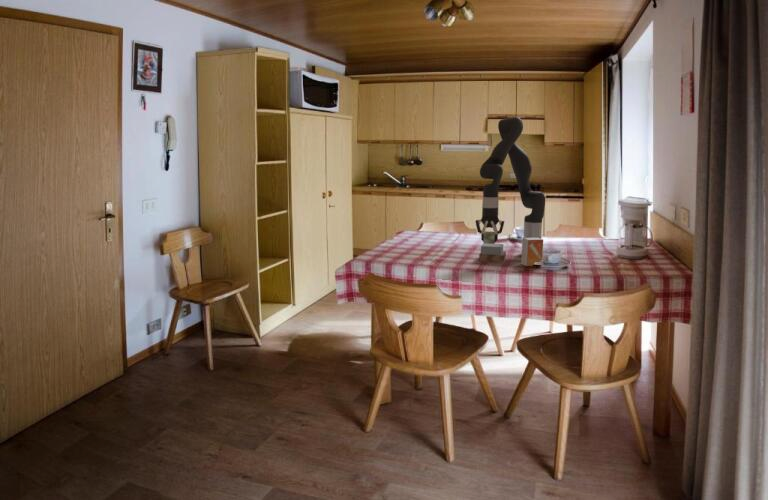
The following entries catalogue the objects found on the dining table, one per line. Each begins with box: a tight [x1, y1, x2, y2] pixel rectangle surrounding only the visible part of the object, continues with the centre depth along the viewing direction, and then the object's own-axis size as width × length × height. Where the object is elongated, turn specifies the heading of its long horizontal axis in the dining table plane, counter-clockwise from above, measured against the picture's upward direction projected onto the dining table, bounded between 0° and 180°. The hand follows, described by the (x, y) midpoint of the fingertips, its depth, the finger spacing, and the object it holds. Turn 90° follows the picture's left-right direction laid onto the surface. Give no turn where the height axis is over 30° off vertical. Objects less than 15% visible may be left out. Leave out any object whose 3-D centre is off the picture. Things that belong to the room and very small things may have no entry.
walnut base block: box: [478, 250, 507, 264], centre depth 306 cm, size 12×12×4 cm
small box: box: [520, 237, 544, 267], centre depth 293 cm, size 8×6×13 cm
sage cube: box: [482, 230, 496, 244], centre depth 290 cm, size 5×5×5 cm
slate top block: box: [480, 242, 504, 255], centre depth 305 cm, size 10×10×4 cm
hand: (489, 241), depth 290 cm, fingers closed on sage cube, 5 cm apart
